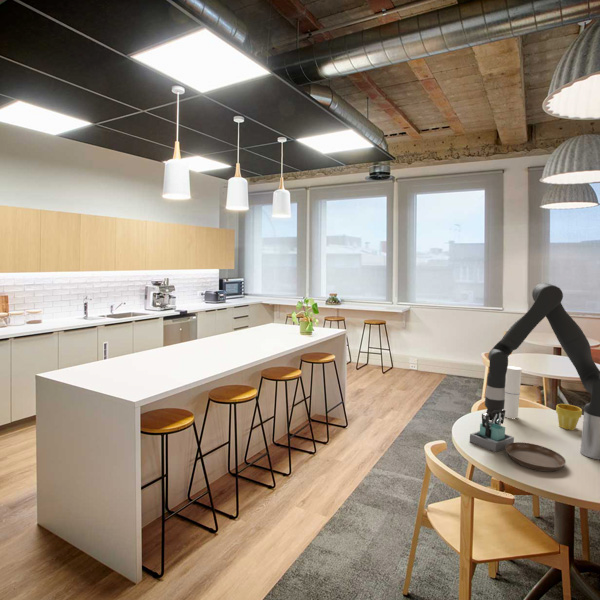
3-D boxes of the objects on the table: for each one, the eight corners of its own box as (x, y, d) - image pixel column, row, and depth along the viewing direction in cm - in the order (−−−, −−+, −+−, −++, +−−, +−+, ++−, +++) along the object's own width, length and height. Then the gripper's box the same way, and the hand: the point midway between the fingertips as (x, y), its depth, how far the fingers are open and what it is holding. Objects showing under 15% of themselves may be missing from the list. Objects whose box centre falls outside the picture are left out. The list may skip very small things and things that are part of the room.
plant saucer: (572, 463, 166) (572, 455, 165) (555, 480, 152) (555, 471, 151) (516, 445, 181) (516, 437, 180) (496, 459, 167) (496, 451, 166)
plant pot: (583, 433, 196) (585, 412, 195) (558, 429, 199) (560, 409, 198) (575, 424, 206) (577, 405, 205) (551, 422, 209) (553, 402, 208)
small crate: (486, 432, 186) (487, 421, 185) (504, 438, 179) (505, 427, 179) (479, 434, 182) (480, 423, 182) (497, 441, 176) (497, 429, 175)
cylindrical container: (506, 419, 211) (510, 369, 208) (499, 413, 218) (503, 365, 216) (520, 419, 211) (524, 369, 209) (512, 414, 218) (516, 366, 216)
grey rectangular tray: (487, 435, 190) (488, 427, 189) (513, 445, 180) (514, 437, 180) (469, 441, 182) (470, 434, 182) (495, 452, 172) (495, 444, 172)
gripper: (496, 391, 186) (493, 429, 188) (476, 396, 178) (473, 435, 180) (513, 396, 180) (509, 435, 182) (493, 401, 172) (490, 442, 173)
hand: (492, 435), depth 181 cm, fingers closed on small crate, 5 cm apart
